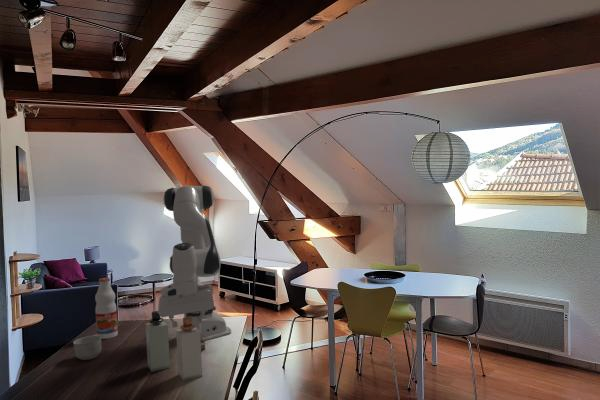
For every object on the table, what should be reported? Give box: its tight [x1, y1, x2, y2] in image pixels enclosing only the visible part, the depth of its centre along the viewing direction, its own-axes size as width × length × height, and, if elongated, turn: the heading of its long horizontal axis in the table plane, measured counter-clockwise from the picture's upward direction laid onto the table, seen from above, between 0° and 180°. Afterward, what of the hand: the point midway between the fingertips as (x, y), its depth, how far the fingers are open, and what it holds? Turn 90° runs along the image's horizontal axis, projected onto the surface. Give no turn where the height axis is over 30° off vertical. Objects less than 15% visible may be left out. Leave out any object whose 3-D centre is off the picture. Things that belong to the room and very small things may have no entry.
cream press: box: [175, 328, 203, 382], centre depth 182 cm, size 7×7×17 cm
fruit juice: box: [94, 277, 119, 340], centre depth 236 cm, size 9×9×28 cm
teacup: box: [72, 334, 103, 361], centre depth 208 cm, size 14×11×8 cm
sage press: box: [145, 320, 171, 373], centre depth 192 cm, size 7×7×17 cm
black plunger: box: [148, 310, 164, 325], centre depth 192 cm, size 5×5×18 cm
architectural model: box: [200, 333, 207, 350], centre depth 209 cm, size 3×7×7 cm, turn 120°
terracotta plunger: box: [180, 316, 195, 332], centre depth 182 cm, size 5×5×18 cm
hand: (187, 324), depth 182 cm, fingers open, 8 cm apart
